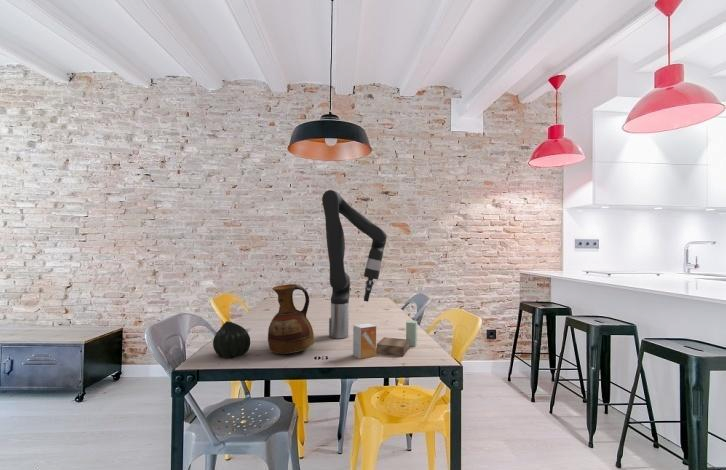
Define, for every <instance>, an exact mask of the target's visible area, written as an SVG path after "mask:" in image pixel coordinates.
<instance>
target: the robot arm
mask: <svg viewBox="0 0 726 470" xmlns="http://www.w3.org/2000/svg"><path fill="white" fill-rule="evenodd" d="M321 202H322V206H323V212H324V218H325V235H326V236H325V238H326V246H327V247H326V248H327V255H328V256H327V257H328V260H329V261H328V262H329V285H330V287H331V288H332V290H331V291H332V293H331V297H330V317H329V318H328V319H329V320H328V338H333V339H346V338H349V333H350V332H349V329H350V328H349V326H350V325H349V320H350V319H349V317H350V316H349V315H350V313H349V312H350V308H349V302H350V291H351V290H350V289H351V281H350V280H351V279H350V276H349V274H348V273H347V272H346V271H345V265H344V263H345V262H344V261H345V260H344V259H345V250H346V241H345V233H344V232H345V231H344V229H343V225H342V223H341V222H342V221H341V219H340V215H342V216H343V217H345V218H346V220H348V221H349V223H351V224H352V225H353V226H354V227H355V228H356V229H358V230H359V231H360V232H361V233H363V234H365V235H367V236H368V237H369V238H370V239H372V240H371V241H372V242H371V247H370V249H369V252H368V256H367V257H368V258H367V260H366V263H365V267H364V272H363V277H364V278H367V280H366V281H365V286H364V295H363V301H364V302H366V303H368V302H369V299H370V295H371V293H372V291H373V288H374V284H375V283H374V280H379V278H380V274H381V268H382V261H383V256H384V249H385V245H386V243H387V240H388V239H387V236H388V235H387V233H386V232H385V230H384V229H382V228H380V227H379V226H377V225H376V224H374V222H372V221H371V220H369V219H368V218H367V217H366V216H365V215H363V214H362V213H361V212H359V211H357V209H355V208H353V207H352V206H351V205H350V204H349V203H348V202H347V201H346V200H345V199H344V198H343V196H342V195H340V193H338V192H337V191H336V190H333V189H328V190H325V191H324V193H323V195H322V198H321Z"/></svg>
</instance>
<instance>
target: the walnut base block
mask: <svg viewBox="0 0 726 470" xmlns="http://www.w3.org/2000/svg"><path fill="white" fill-rule="evenodd" d="M409 349H410V346H409V340H407V339H406V338H397V337H396V338H395V337H382V339H380V340H379V341H378V342H376V354H380V355H381V354H382V355H392V356H399V357H404V356H405V355H406V353H407V352H408V350H409Z"/></svg>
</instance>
